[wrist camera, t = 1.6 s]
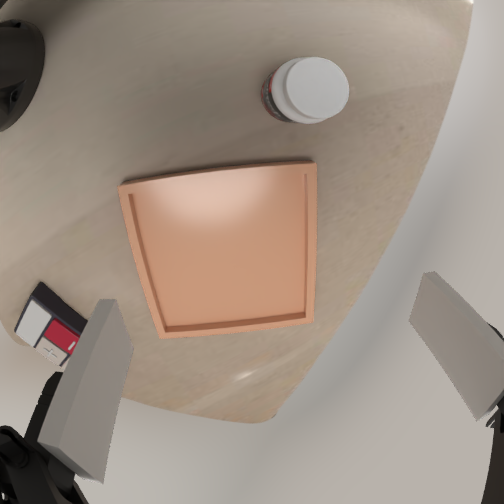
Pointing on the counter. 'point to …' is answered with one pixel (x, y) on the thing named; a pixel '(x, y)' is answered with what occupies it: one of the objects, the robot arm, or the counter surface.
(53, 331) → the calculator
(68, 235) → the counter surface
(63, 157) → the counter surface
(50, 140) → the counter surface
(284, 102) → the pill bottle
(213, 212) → the tray
